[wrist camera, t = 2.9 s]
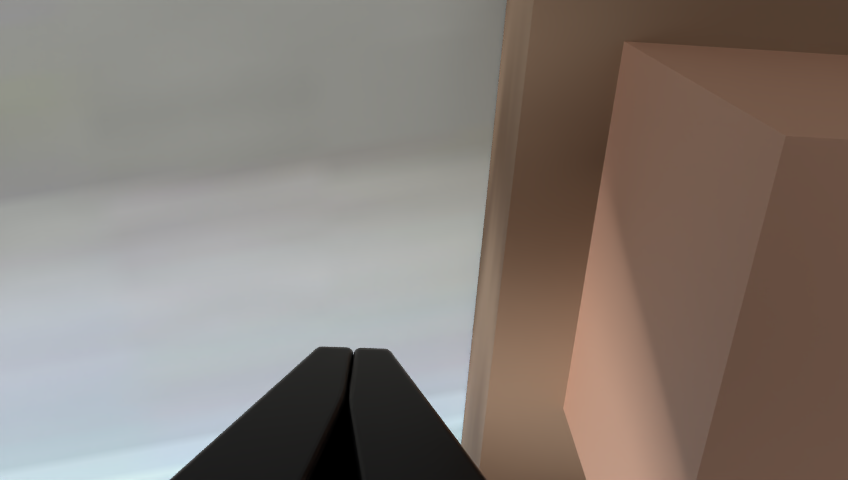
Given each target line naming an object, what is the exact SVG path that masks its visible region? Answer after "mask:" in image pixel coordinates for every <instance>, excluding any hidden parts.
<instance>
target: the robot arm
mask: <svg viewBox="0 0 848 480" xmlns="http://www.w3.org/2000/svg"><path fill="white" fill-rule="evenodd" d="M170 480H487V479H486V478H485V476H484V475H483V474H482V472H481V471H480V470H479V468H478V467H477V466H476V464H475V463H474V462H473V460H472V459H471V458H470V456H469V455H468V454H467V452H466V451H465V450H464V448H463V447H462V446H461V444H460V443H459V442H458V440H457V439H456V438H455V436H454V435H453V434H452V432H451V431H450V430H449V428H448V427H447V426H446V424H445V423H444V422H443V420H442V419H441V418H440V416H439V415H438V414H437V412H436V411H435V410H434V408H433V407H432V406H431V404H430V403H429V402H428V401H427V399H426V398H425V397H424V395H423V394H422V393H421V391H420V390H419V389H418V387H417V386H416V385H415V383H414V382H413V381H412V379H411V378H410V377H409V375H408V374H407V373H406V371H405V370H404V369H403V367H402V366H401V365H400V363H399V362H398V361H397V359H396V358H395V357H394V355H393V354H392V353H391V352H390V351H389V350H388V349H377V348H358V349H356V350H355V352H354V355H353V351H352V350H351V349H350V348H347V347H318V348H317V349H315V350H314V351H313V352H312V353H311V354H310V355H309V356H307V357H306V358H305V359H304V360H303V361H302V362H301V363H300V364H298V365H297V366H296V367H295V368H294V369H293V370H292V371H291V372H290V373H288V374H287V375H286V376H285V377H284V378H283V379H282V380H281V381H280V382H278V383H277V384H276V385H275V386H274V387H273V388H272V389H271V390H269V391H268V392H267V393H266V394H265V395H264V396H263V397H262V398H261V399H259V400H258V401H257V402H256V403H255V404H254V405H253V406H252V407H250V408H249V409H248V410H247V411H246V412H245V413H244V414H243V415H242V416H240V417H239V418H238V419H237V420H236V421H235V422H234V423H233V424H232V425H230V426H229V427H228V428H227V429H226V430H225V431H224V432H223V433H221V434H220V435H219V436H218V437H217V438H216V439H215V440H214V441H213V442H211V443H210V444H209V445H208V446H207V447H206V448H205V449H204V450H202V451H201V452H200V453H199V454H198V455H197V456H196V457H195V458H194V459H192V460H191V461H190V462H189V463H188V464H187V465H186V466H185V467H184V468H182V469H181V470H180V471H179V472H178V473H177V474H176V475H175V476H173V477H172V478H171V479H170Z"/></svg>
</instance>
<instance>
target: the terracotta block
mask: <svg viewBox="0 0 848 480" xmlns="http://www.w3.org/2000/svg"><path fill="white" fill-rule="evenodd" d="M563 409H564V412H565V415H566V419H567V422H568V425H569V428H570V431H571V434H572V437H573V440H574V443H575V446H576V449H577V453H578V456H579V459H580V462H581V465H582V468H583V471H584V474H585V477H586V480H848V55H836V54H820V53H804V52H788V51H772V50H756V49H740V48H724V47H708V46H692V45H676V44H660V43H644V42H628V41H624V44H623V50H622V56H621V62H620V68H619V74H618V80H617V86H616V93H615V99H614V105H613V111H612V117H611V123H610V129H609V135H608V141H607V147H606V153H605V159H604V165H603V171H602V177H601V183H600V189H599V195H598V201H597V208H596V214H595V220H594V226H593V232H592V238H591V244H590V250H589V256H588V262H587V268H586V274H585V280H584V286H583V292H582V298H581V304H580V310H579V317H578V323H577V329H576V335H575V341H574V347H573V353H572V359H571V365H570V371H569V377H568V383H567V389H566V395H565V401H564V407H563Z"/></svg>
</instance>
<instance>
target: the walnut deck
mask: <svg viewBox="0 0 848 480" xmlns="http://www.w3.org/2000/svg"><path fill="white" fill-rule="evenodd" d="M624 41H628V42H644V43H660V44H676V45H692V46H708V47H724V48H740V49H756V50H772V51H788V52H804V53H820V54H836V55H848V0H507V6H506V15H505V25H504V35H503V44H502V54H501V64H500V73H499V83H498V93H497V102H496V112H495V122H494V132H493V141H492V151H491V161H490V170H489V180H488V190H487V199H486V209H485V219H484V228H483V238H482V248H481V258H480V267H479V277H478V287H477V296H476V306H475V316H474V325H473V335H472V345H471V355H470V364H469V374H468V384H467V393H466V403H465V413H464V422H463V432H462V442H461V446H462V447H463V448H464V450H465V451H466V452H467V454H468V455H469V456H470V458H471V459H472V460H473V462H474V463H475V464H476V466H477V467H478V468H479V470H480V471H481V472H482V474H483V475H484V476H485V478H486V479H487V480H586V477H585V474H584V471H583V468H582V465H581V462H580V459H579V456H578V453H577V449H576V446H575V443H574V440H573V437H572V434H571V431H570V428H569V425H568V422H567V419H566V415H565V412H564V409H563V407H564V401H565V395H566V389H567V383H568V377H569V371H570V365H571V359H572V353H573V347H574V341H575V335H576V329H577V323H578V317H579V310H580V304H581V298H582V292H583V286H584V280H585V274H586V268H587V262H588V256H589V250H590V244H591V238H592V232H593V226H594V220H595V214H596V208H597V201H598V195H599V189H600V183H601V177H602V171H603V165H604V159H605V153H606V147H607V141H608V135H609V129H610V123H611V117H612V111H613V105H614V99H615V93H616V86H617V80H618V74H619V68H620V62H621V56H622V50H623V44H624Z"/></svg>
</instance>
